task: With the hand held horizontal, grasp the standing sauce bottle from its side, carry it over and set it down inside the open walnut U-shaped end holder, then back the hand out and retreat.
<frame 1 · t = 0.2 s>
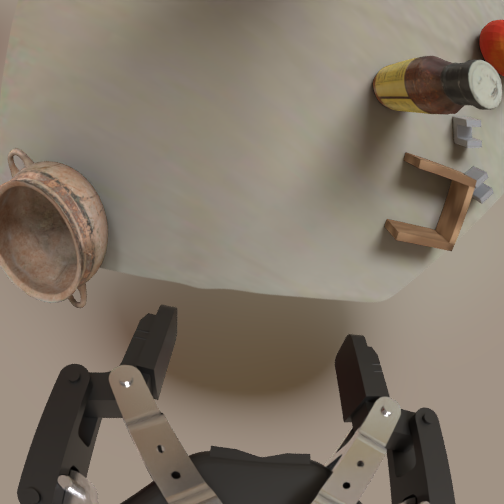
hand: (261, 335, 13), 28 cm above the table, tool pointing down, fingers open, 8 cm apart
cooking pot: (73, 209, 41), on the table
end holder: (421, 197, 39), on the table
fruit: (489, 49, 26), on the table
sauce bottle: (390, 86, 32), on the table
clip a: (460, 129, 33), on the table
clip b: (471, 181, 37), on the table
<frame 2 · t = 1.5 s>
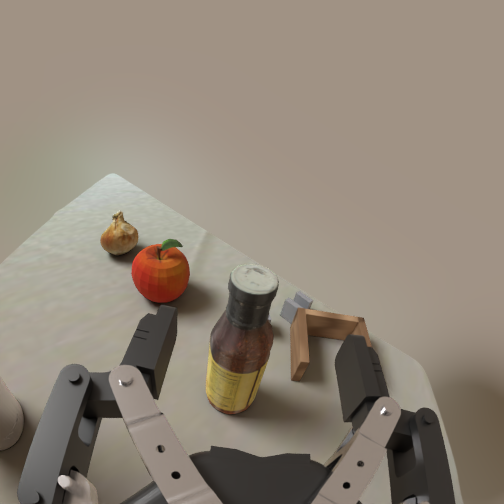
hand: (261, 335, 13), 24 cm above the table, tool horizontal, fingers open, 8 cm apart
end holder: (326, 359, 43), on the table
fruit: (160, 293, 49), on the table
sauce bottle: (227, 397, 35), on the table
onion: (119, 252, 57), on the table
clip b: (293, 315, 51), on the table
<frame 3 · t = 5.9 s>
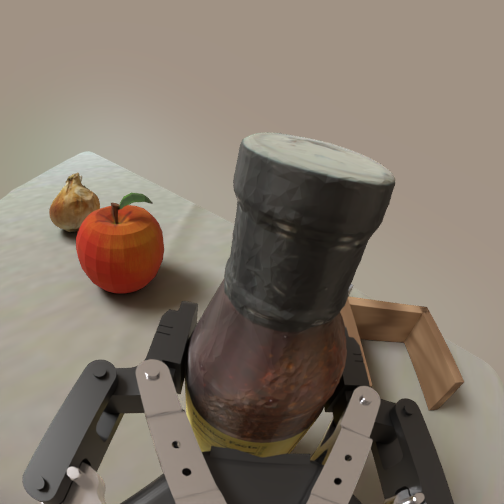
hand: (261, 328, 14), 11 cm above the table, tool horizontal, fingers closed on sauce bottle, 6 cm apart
end holder: (381, 373, 26), on the table
fruit: (122, 281, 32), on the table
sauce bottle: (230, 455, 18), on the table, touching gripper
onion: (76, 229, 39), on the table
when the fingers open (12 cm above the table, at t = 11.7 s): sauce bottle stays where it is, on the table.
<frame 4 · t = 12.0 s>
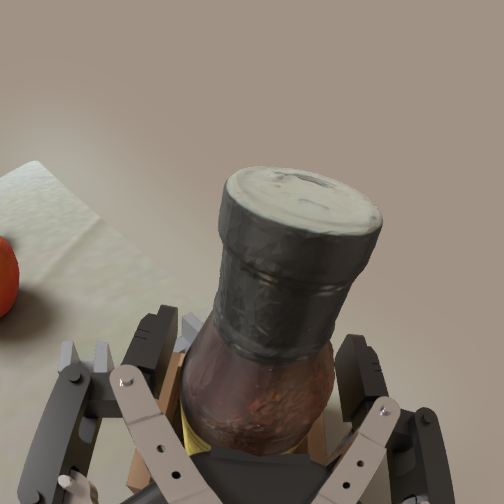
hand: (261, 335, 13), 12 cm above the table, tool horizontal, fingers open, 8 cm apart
end holder: (228, 458, 18), on the table
sauce bottle: (226, 461, 18), on the table
clip a: (92, 381, 21), on the table
clip b: (182, 357, 25), on the table
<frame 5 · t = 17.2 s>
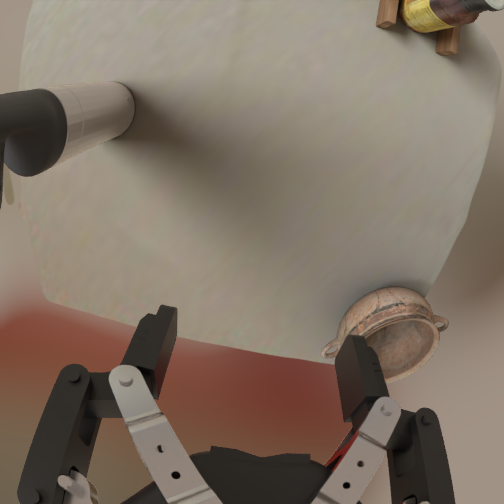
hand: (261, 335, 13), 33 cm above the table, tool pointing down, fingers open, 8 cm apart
cooking pot: (377, 308, 55), on the table
end holder: (414, 15, 28), on the table
sauce bottle: (413, 16, 28), on the table
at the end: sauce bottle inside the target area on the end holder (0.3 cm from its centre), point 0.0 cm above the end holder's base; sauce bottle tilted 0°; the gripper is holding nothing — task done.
